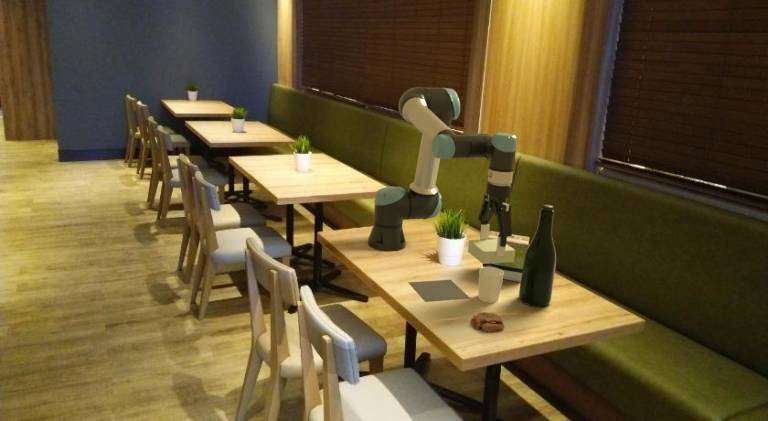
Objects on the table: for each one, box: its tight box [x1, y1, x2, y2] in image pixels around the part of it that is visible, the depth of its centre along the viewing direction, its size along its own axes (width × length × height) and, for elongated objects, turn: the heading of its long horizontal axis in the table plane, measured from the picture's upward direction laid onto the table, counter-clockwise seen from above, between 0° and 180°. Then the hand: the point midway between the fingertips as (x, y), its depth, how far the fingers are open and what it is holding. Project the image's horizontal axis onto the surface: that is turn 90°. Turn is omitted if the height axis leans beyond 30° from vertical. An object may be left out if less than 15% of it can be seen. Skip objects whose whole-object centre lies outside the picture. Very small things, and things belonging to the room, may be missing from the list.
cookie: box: [470, 311, 505, 333], centre depth 184 cm, size 10×11×3 cm
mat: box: [407, 279, 471, 303], centre depth 206 cm, size 16×16×1 cm
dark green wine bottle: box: [518, 204, 557, 308], centre depth 199 cm, size 10×10×33 cm
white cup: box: [477, 266, 504, 304], centre depth 201 cm, size 8×8×10 cm
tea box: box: [482, 230, 530, 283], centre depth 222 cm, size 15×10×15 cm, turn 74°
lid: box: [467, 239, 515, 265], centre depth 197 cm, size 11×11×4 cm
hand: (491, 249), depth 197 cm, fingers closed on lid, 11 cm apart
